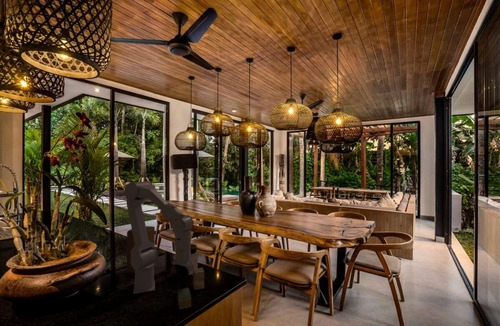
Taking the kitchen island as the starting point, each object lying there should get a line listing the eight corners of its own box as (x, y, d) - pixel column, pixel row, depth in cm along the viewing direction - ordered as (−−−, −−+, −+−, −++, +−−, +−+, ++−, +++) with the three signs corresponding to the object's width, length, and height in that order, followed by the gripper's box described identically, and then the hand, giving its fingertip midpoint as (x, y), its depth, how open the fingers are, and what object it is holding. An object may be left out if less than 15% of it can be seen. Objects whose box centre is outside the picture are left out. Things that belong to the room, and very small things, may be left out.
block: (146, 273, 118) (147, 231, 118) (125, 273, 118) (126, 230, 118) (155, 265, 128) (155, 225, 128) (135, 265, 128) (136, 225, 128)
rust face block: (192, 285, 107) (192, 269, 107) (202, 284, 108) (202, 267, 108) (194, 290, 103) (194, 272, 103) (204, 288, 104) (204, 271, 104)
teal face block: (177, 289, 96) (179, 298, 89) (188, 287, 97) (191, 296, 91) (177, 299, 96) (179, 309, 89) (188, 298, 97) (191, 307, 91)
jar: (177, 275, 116) (177, 249, 116) (179, 268, 124) (179, 244, 124) (197, 274, 117) (197, 248, 117) (198, 267, 125) (198, 243, 125)
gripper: (165, 245, 101) (165, 279, 101) (180, 255, 89) (180, 294, 89) (182, 242, 105) (182, 274, 105) (198, 251, 94) (198, 288, 94)
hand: (182, 283), depth 97 cm, fingers closed
